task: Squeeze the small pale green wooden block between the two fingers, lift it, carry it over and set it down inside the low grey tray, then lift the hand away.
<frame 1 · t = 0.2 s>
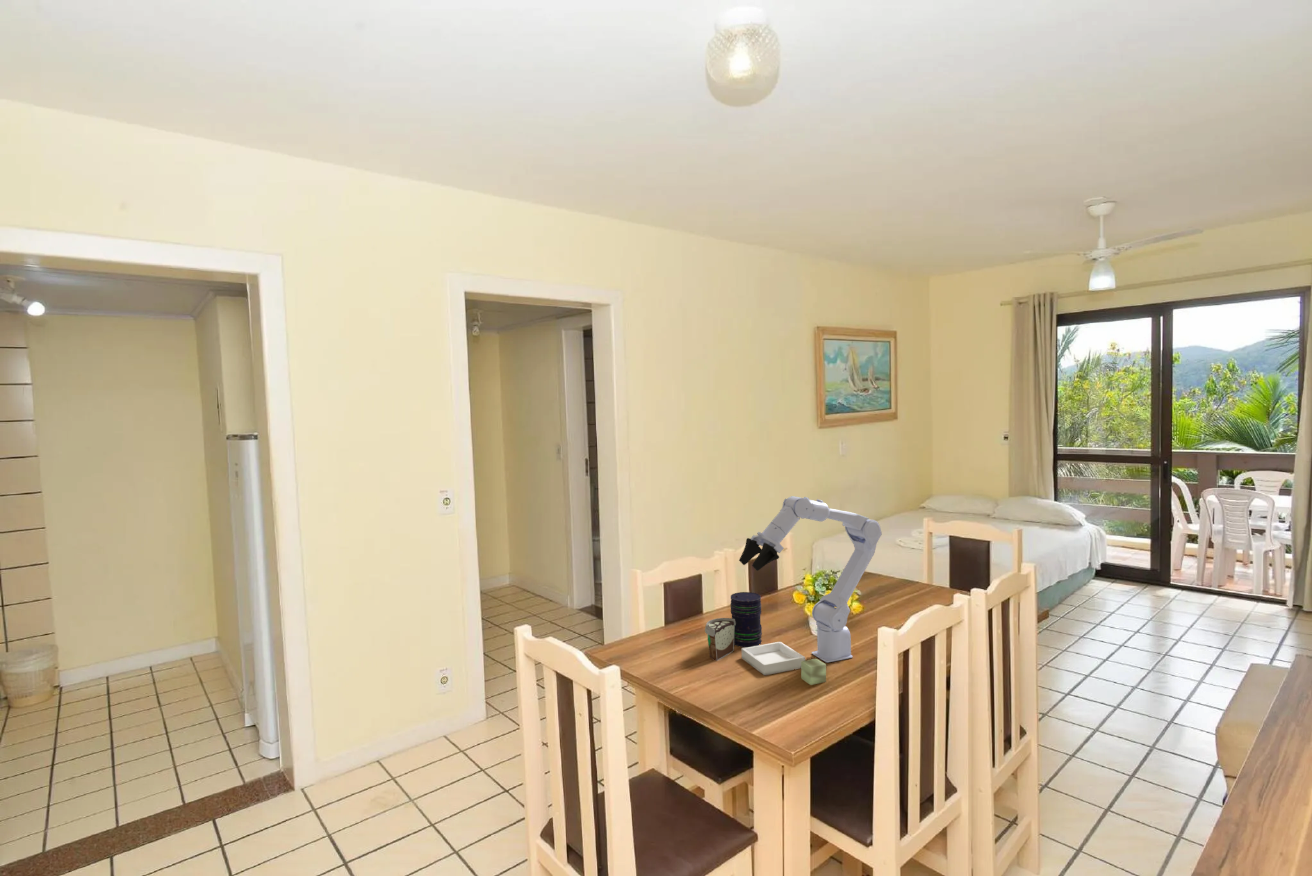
hand: (748, 565, 184), 31 cm above the table, tool tilted 45°, fingers open, 7 cm apart
food container: (717, 654, 201), on the table
green block: (813, 680, 180), on the table
storage jar: (746, 642, 210), on the table
grey tray: (772, 662, 193), on the table
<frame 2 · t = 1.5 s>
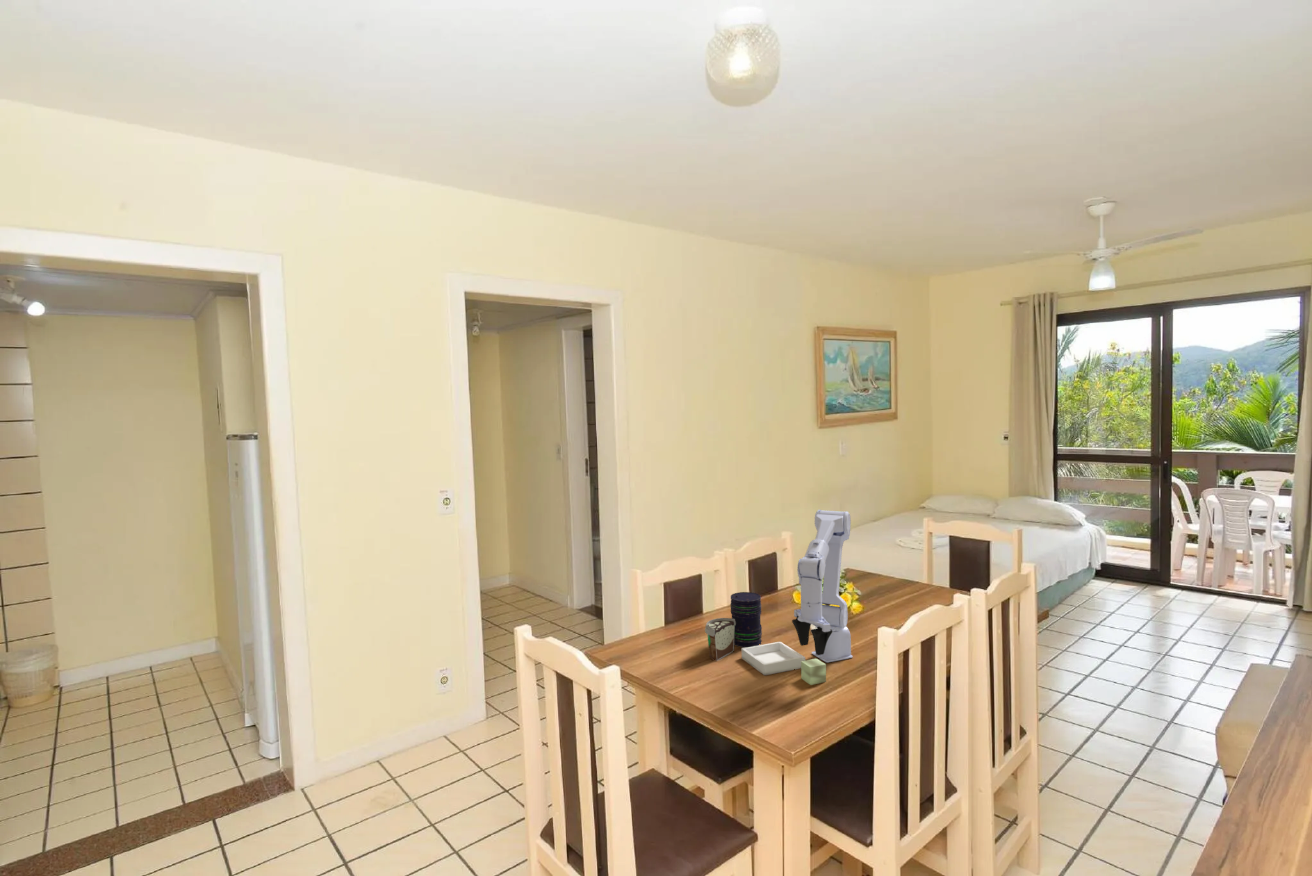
hand: (811, 649, 179), 9 cm above the table, tool pointing down, fingers open, 7 cm apart
nothing on the table moved.
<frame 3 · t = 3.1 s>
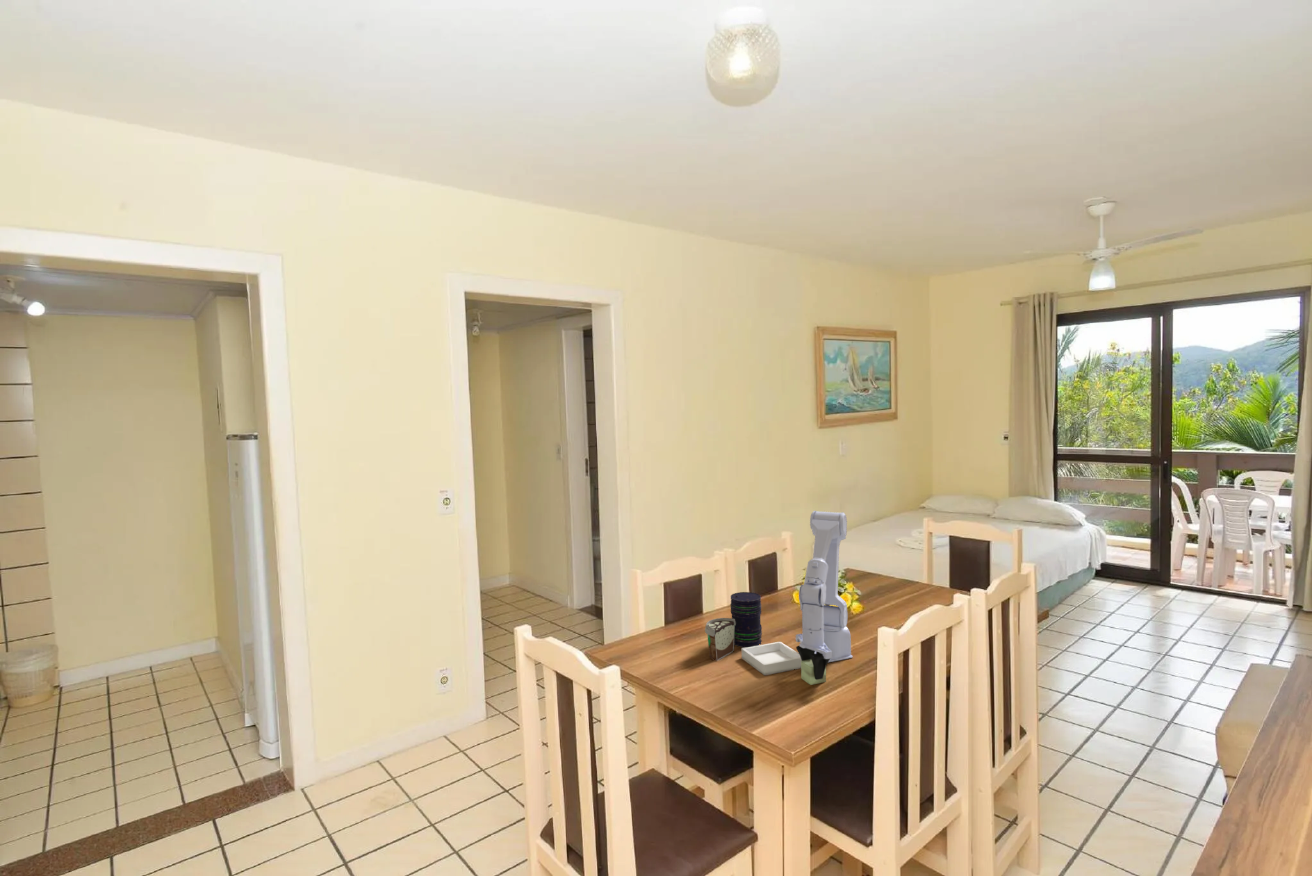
hand: (813, 675, 180), 1 cm above the table, tool pointing down, fingers closed on green block, 4 cm apart
green block: (813, 680, 180), on the table, touching gripper
everything else where it was.
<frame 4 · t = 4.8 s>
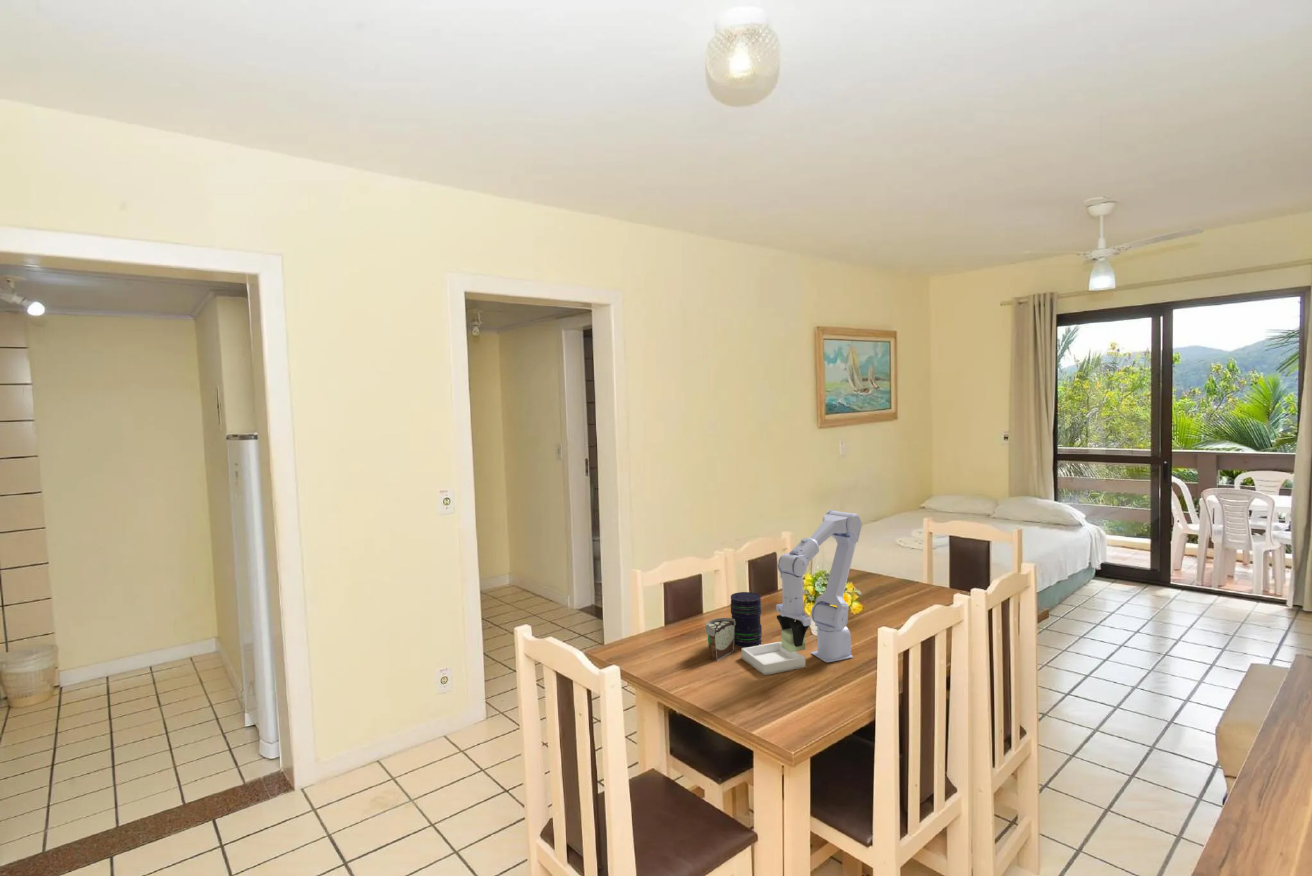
hand: (793, 642, 186), 8 cm above the table, tool pointing down, fingers closed on green block, 4 cm apart
green block: (793, 648, 186), point 7 cm above the table, touching gripper
everything else where it was.
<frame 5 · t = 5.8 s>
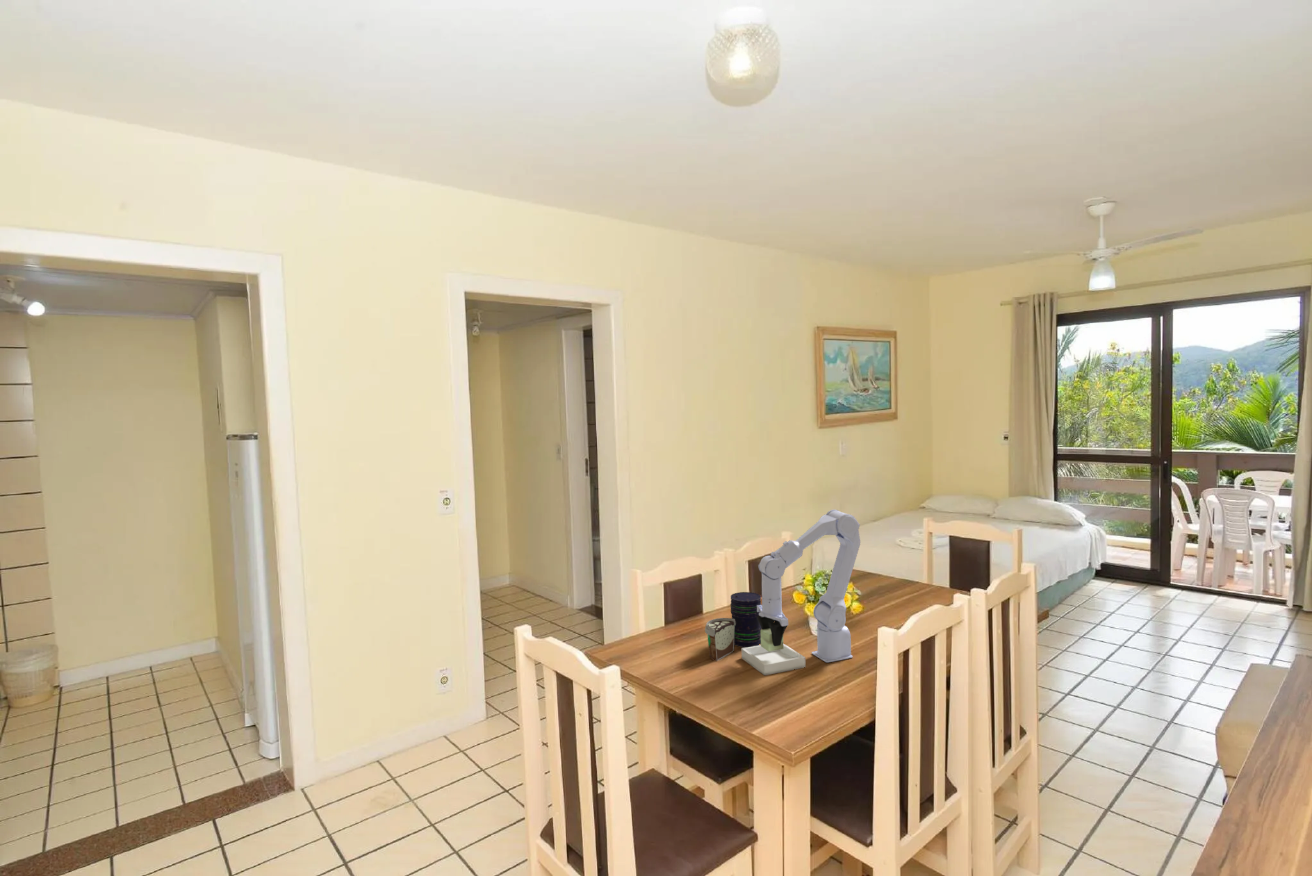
hand: (772, 642, 192), 6 cm above the table, tool pointing down, fingers closed on green block, 4 cm apart
green block: (772, 647, 192), point 5 cm above the table, touching gripper
everything else where it was.
when the fingers open (4 cm above the table, at t = 6.7 s): green block drops 1 cm, resting on grey tray.
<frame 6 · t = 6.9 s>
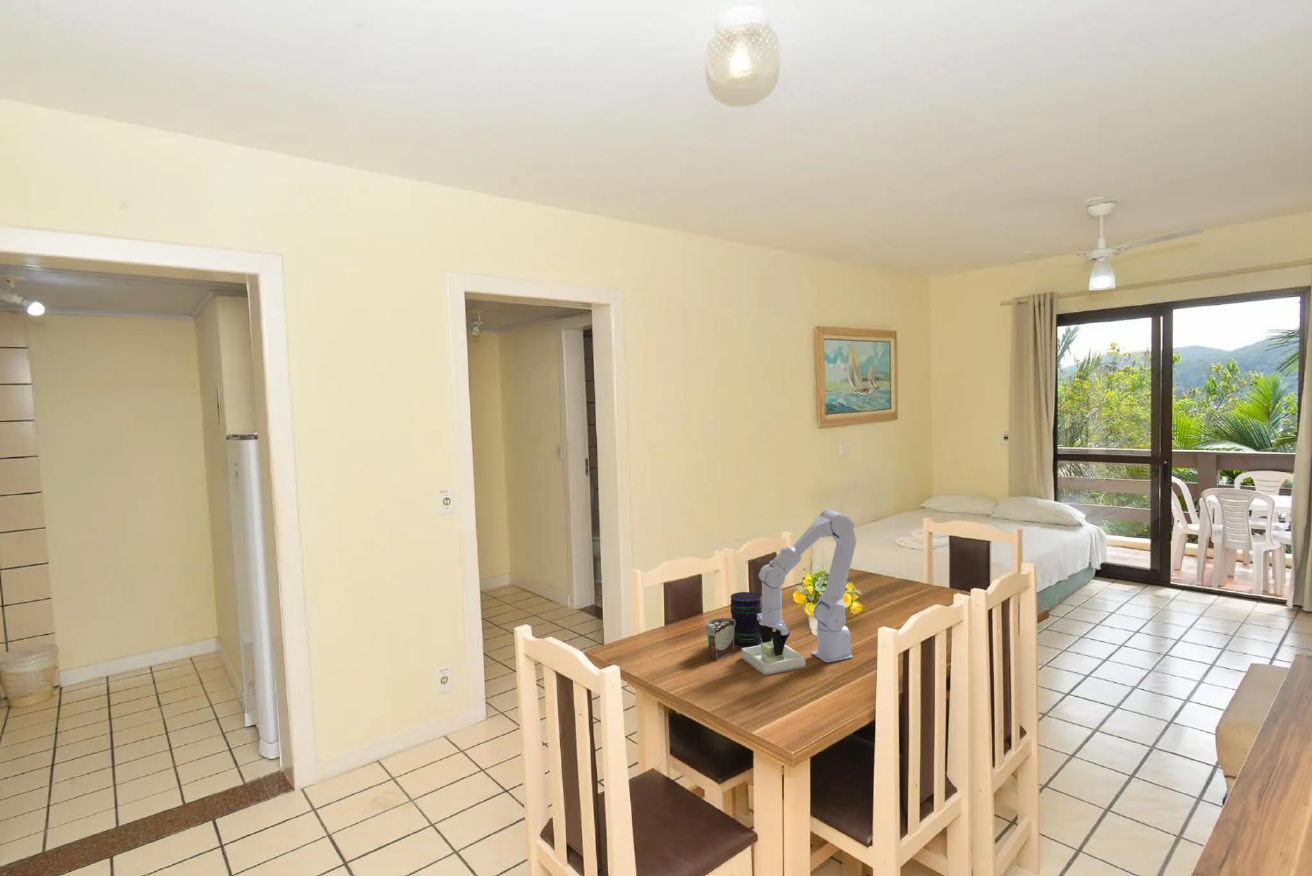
hand: (772, 651, 192), 4 cm above the table, tool pointing down, fingers open, 6 cm apart
green block: (772, 660, 192), point 1 cm above the table, touching grey tray
everything else where it was.
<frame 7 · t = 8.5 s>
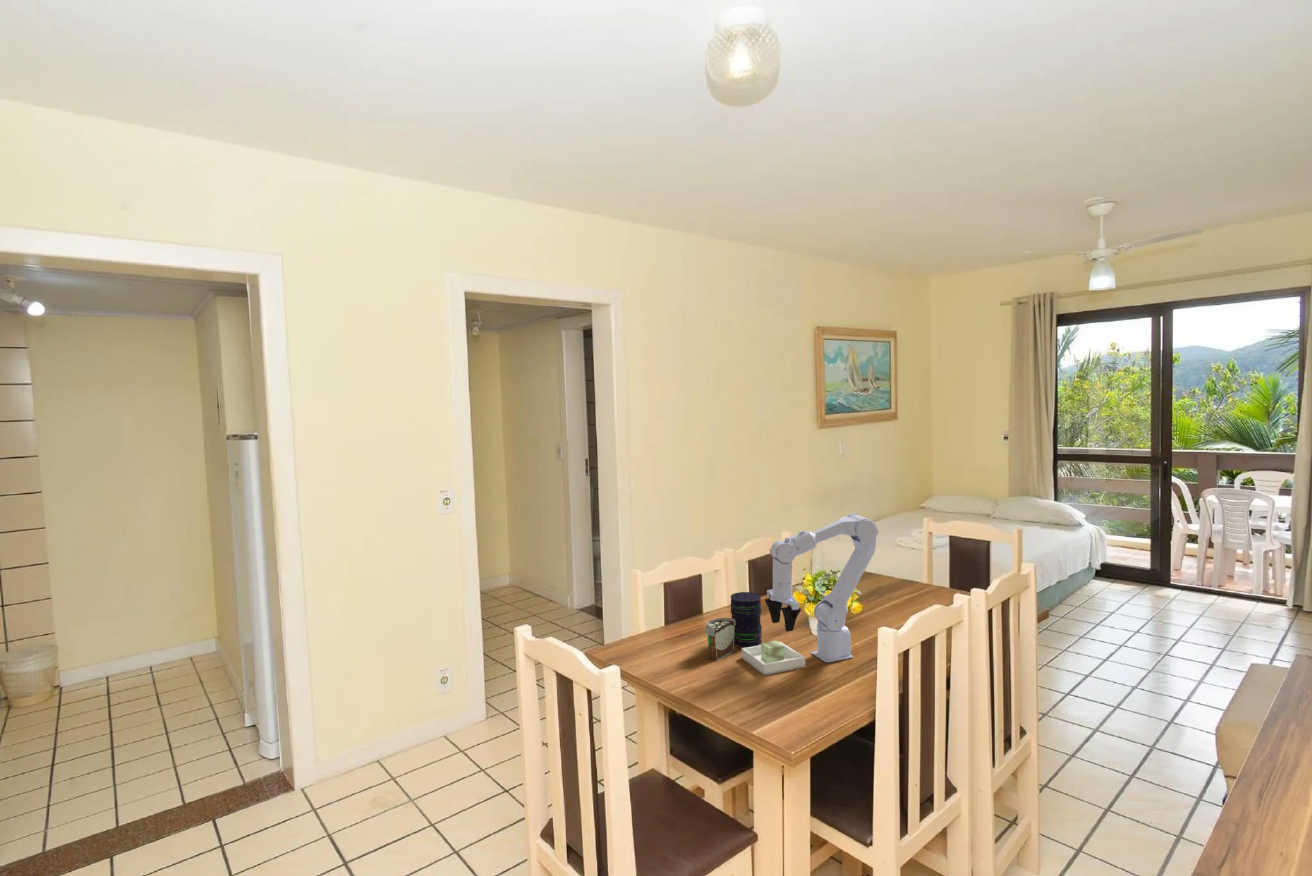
hand: (782, 626, 193), 10 cm above the table, tool pointing down, fingers open, 7 cm apart
nothing on the table moved.
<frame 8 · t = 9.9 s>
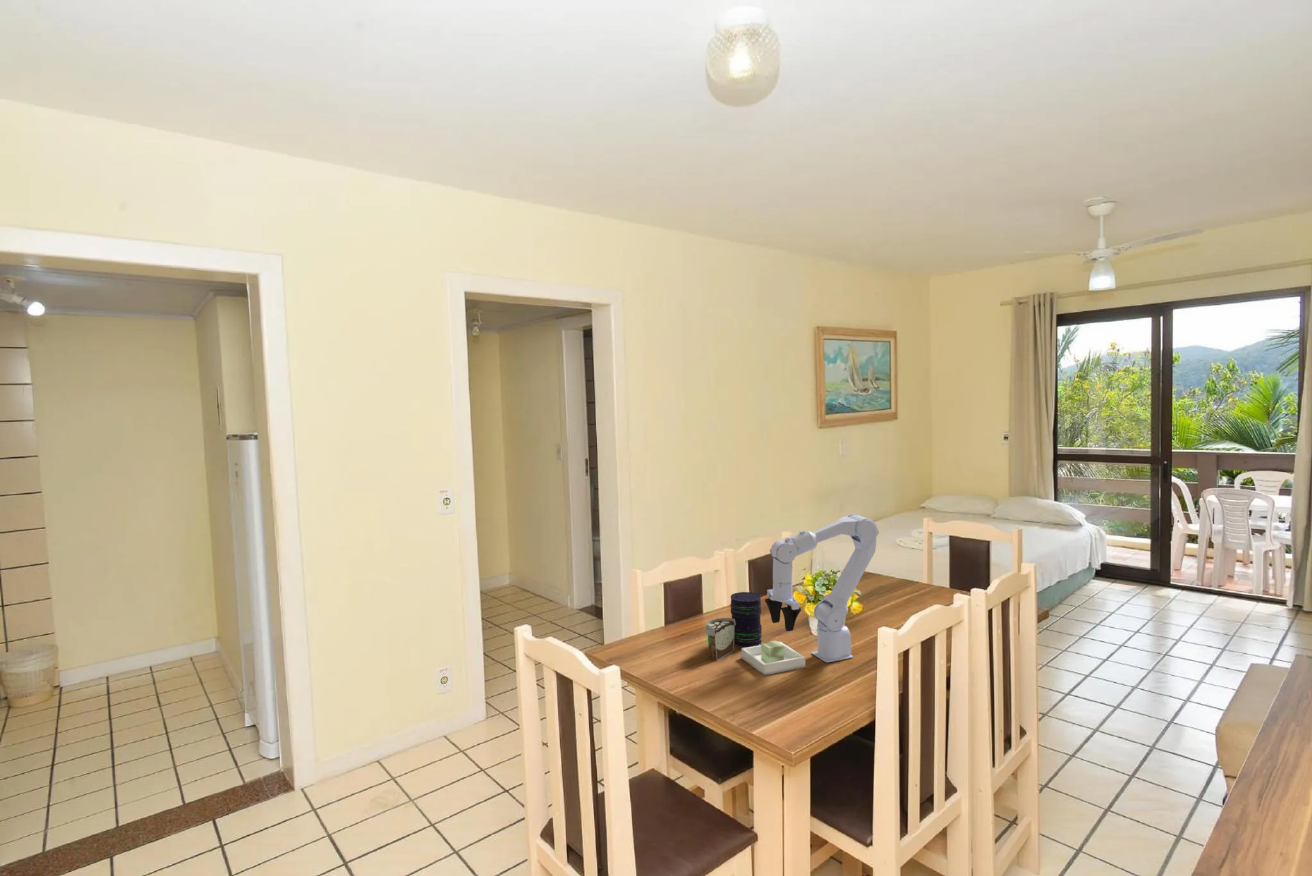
hand: (782, 626, 193), 10 cm above the table, tool pointing down, fingers open, 7 cm apart
nothing on the table moved.
at the end: green block inside the target area on the grey tray (0.1 cm from its centre), point 0.6 cm above the grey tray's base; green block tilted 0°; the gripper is holding nothing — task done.
